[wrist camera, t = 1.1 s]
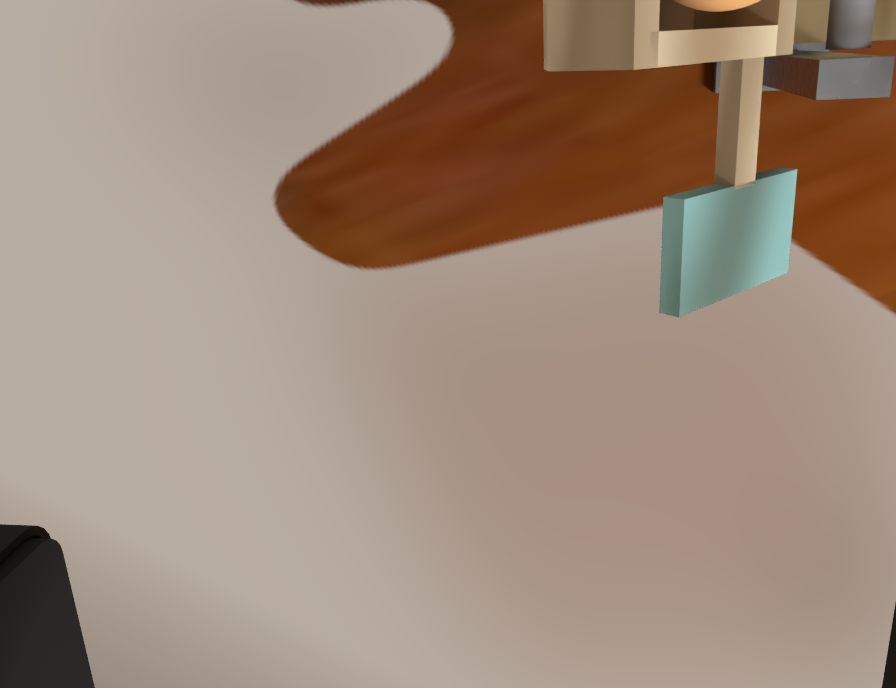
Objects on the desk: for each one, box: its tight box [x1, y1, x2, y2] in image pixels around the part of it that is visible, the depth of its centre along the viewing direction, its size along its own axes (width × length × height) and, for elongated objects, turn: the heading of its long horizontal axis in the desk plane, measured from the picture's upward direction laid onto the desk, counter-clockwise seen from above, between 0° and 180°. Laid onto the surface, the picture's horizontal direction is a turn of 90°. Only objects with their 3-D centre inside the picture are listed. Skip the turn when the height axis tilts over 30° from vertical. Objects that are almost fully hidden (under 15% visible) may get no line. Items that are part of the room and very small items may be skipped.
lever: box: [543, 0, 896, 317], centre depth 24 cm, size 23×12×6 cm
